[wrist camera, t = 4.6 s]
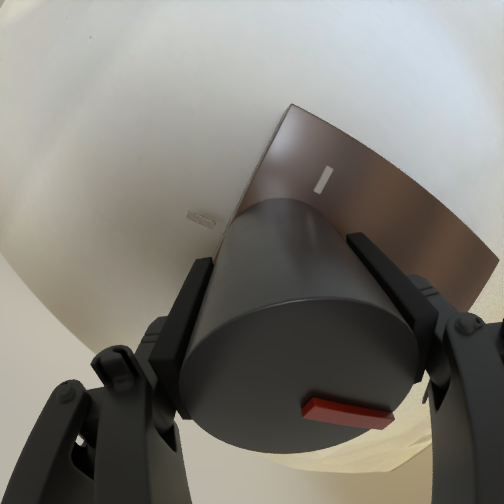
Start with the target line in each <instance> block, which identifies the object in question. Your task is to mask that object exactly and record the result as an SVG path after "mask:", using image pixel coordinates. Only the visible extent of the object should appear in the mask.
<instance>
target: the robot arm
mask: <svg viewBox="0 0 504 504" xmlns="http://www.w3.org/2000/svg"><path fill="white" fill-rule="evenodd" d="M346 242H347V244H348V245H349V247H350V248H351V249H352V250H353V251H354V253H355V254H356V255H357V256H358V258H359V259H360V260H361V262H362V263H363V264H364V265H365V267H366V268H367V269H368V271H369V272H370V273H371V274H372V276H373V277H374V278H375V280H376V281H377V282H378V284H379V285H380V286H381V288H382V289H383V290H384V292H385V293H386V294H387V296H388V297H389V299H390V300H391V301H392V303H393V304H394V305H395V307H396V308H397V310H398V311H399V312H400V314H401V315H402V317H403V318H404V320H405V321H406V322H407V324H408V325H409V327H410V328H411V330H412V331H413V333H414V335H415V338H416V340H417V343H418V348H419V368H418V373H417V376H416V379H415V381H414V384H416V383H418V382H421V381H422V378H423V374H424V371H425V369H426V371H427V373H428V375H429V376H430V380H429V383H428V386H427V388H426V391H425V394H424V396H423V401H422V404H424V403H426V400H427V398H428V397H429V406H430V416H431V429H432V447H433V448H432V449H433V484H432V503H431V504H504V319H503V322H498V323H489V324H485V323H484V321H483V320H482V319H481V318H480V317H478V316H477V315H475V314H472V313H469V312H458V311H457V310H456V309H455V308H454V307H453V306H452V305H451V304H450V303H449V302H448V301H447V300H446V299H445V297H444V296H443V295H442V294H441V293H440V294H439V291H438V290H437V289H436V288H435V287H434V288H433V285H432V284H431V283H430V282H429V281H428V280H427V279H425V278H423V277H421V276H419V275H417V274H411V275H407V276H406V275H405V274H404V273H403V272H402V271H401V270H400V269H399V268H398V267H397V266H396V265H395V264H394V263H393V262H392V261H391V260H390V259H389V258H388V257H387V256H386V255H385V254H384V253H383V252H382V251H381V250H380V249H379V248H378V247H377V246H376V245H375V244H374V243H373V242H372V241H371V240H370V239H369V238H368V237H367V236H366V235H365V234H363V233H362V232H357V233H351V234H346ZM213 269H214V264H213V260H212V257H208V258H202V259H196V260H195V262H194V264H193V266H192V268H191V270H190V272H189V274H188V276H187V278H186V280H185V282H184V284H183V286H182V288H181V290H180V292H179V294H178V296H177V298H176V300H175V302H174V304H173V306H172V309H171V311H170V313H169V315H168V316H163V317H158V318H157V319H156V320H154V321H153V322H152V323H151V324H150V325H149V327H148V329H147V331H146V333H145V336H143V338H142V340H141V343H140V344H139V346H138V348H137V350H136V352H135V354H133V352H132V350H131V349H130V348H129V347H128V346H124V345H115V346H111V347H109V348H106V349H104V350H103V351H101V352H99V353H98V354H97V355H96V356H95V357H94V358H93V360H92V362H91V366H92V368H93V369H94V371H95V372H96V374H97V375H98V377H99V378H100V380H101V381H102V383H103V384H104V387H100V388H95V389H90V390H86V389H85V387H84V386H83V385H82V383H80V381H78V380H74V379H73V380H67V381H65V382H62V383H61V384H60V385H58V386H57V387H56V388H55V389H54V391H53V392H52V394H51V396H50V397H49V399H48V401H47V403H46V405H45V407H44V408H43V410H42V412H41V414H40V416H39V418H38V420H37V422H36V424H35V425H34V427H33V429H32V431H31V433H30V435H29V437H28V439H27V442H26V444H25V446H24V448H23V450H22V452H21V455H20V457H19V459H18V461H17V463H16V466H15V468H14V471H13V473H12V475H11V478H10V480H9V483H8V485H7V488H6V491H5V494H4V496H3V499H2V502H1V504H192V501H191V497H190V492H189V487H188V482H187V477H186V471H185V466H184V461H183V455H182V448H181V442H180V435H179V429H178V426H177V424H176V423H175V421H174V417H175V413H176V410H177V411H178V413H179V414H180V416H181V417H182V419H183V420H184V419H186V420H193V419H192V418H191V417H190V415H189V414H188V413H187V411H186V409H185V407H184V405H183V403H182V400H181V397H180V393H179V383H178V382H179V375H180V370H181V367H182V364H183V360H184V357H185V354H186V351H187V348H188V344H189V341H190V338H191V335H192V332H193V329H194V326H195V323H196V319H197V316H198V313H199V310H200V307H201V304H202V301H203V298H204V295H205V292H206V289H207V286H208V283H209V280H210V277H211V274H212V272H213ZM78 435H79V436H80V437H81V438H82V439H83V440H84V442H83V444H82V445H81V446H79V445H78V444H77V443H76V442H75V441H76V438H77V436H78Z"/></svg>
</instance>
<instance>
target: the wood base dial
mask: <svg viewBox="0 0 504 504" xmlns="http://www.w3.org/2000/svg"><path fill="white" fill-rule="evenodd" d="M278 198H282V199H293V200H297V201H301V202H304V203H306V204H308V205H310V206H312V207H313V208H315V209H317V210H318V211H319V212H320V213H321V214H323V216H324V217H325V218H326V219H327V220H328V221H329V222H330V224H331V225H332V226H333V227H334V228H335V229H336V231H337V232H338V233H339V234H340V236H341V237H342V238H343V239H344V240H345V242H346V234H351V233H357V232H362V233H363V234H365V235H366V236H367V237H368V238H369V239H370V240H371V241H372V242H373V243H374V244H375V245H376V246H377V247H378V248H379V249H380V250H381V251H382V252H383V253H384V254H385V255H386V256H387V257H388V258H389V259H390V260H391V261H392V262H393V263H394V264H395V265H396V266H397V267H398V268H399V269H400V270H401V271H402V272H403V273H404V274H405V275H406V276H407V275H411V274H417V275H419V276H421V277H423V278H425V279H427V280H428V281H429V282H430V283H431V284H432V285H433V288H434V287H435V288H436V289H437V290H438V291H439V294H440V293H441V294H442V295H443V296H444V297H445V299H446V300H447V301H448V302H449V303H450V304H451V305H452V306H453V307H454V308H455V309H456V310H457V311H458V312H468V311H469V309H470V308H471V306H472V305H473V303H474V302H475V300H476V299H477V297H478V296H479V294H480V293H481V291H482V289H483V288H484V286H485V285H486V283H487V281H488V280H489V278H490V276H491V275H492V273H493V271H494V269H495V268H496V266H497V264H498V262H499V259H498V257H497V256H496V255H495V254H494V253H493V252H492V251H491V250H490V249H489V248H488V247H487V246H486V245H485V243H484V242H483V241H482V240H481V239H480V238H479V237H478V236H477V235H476V234H475V233H474V232H473V231H472V230H471V229H470V228H469V227H468V226H467V225H465V224H464V223H463V222H462V221H461V220H460V219H459V218H458V217H457V216H456V215H455V214H454V213H453V212H451V211H450V210H449V209H448V208H447V207H446V206H445V205H444V204H442V203H441V202H440V201H439V200H438V199H437V198H435V197H434V196H433V195H432V194H431V193H429V192H428V191H427V190H426V189H424V188H423V187H422V186H421V185H419V184H418V183H417V182H416V181H414V180H413V179H412V178H411V177H409V176H408V175H407V174H405V173H404V172H403V171H401V170H400V169H399V168H397V167H396V166H394V165H393V164H392V163H390V162H389V161H387V160H386V159H385V158H383V157H382V156H380V155H379V154H377V153H376V152H374V151H373V150H371V149H370V148H368V147H367V146H365V145H364V144H362V143H361V142H359V141H358V140H356V139H354V138H353V137H351V136H350V135H348V134H346V133H345V132H343V131H341V130H340V129H338V128H336V127H335V126H333V125H331V124H329V123H328V122H326V121H324V120H322V119H321V118H319V117H317V116H315V115H313V114H311V113H310V112H308V111H306V110H304V109H302V108H300V107H298V106H296V105H294V104H291V105H290V106H289V107H288V108H287V109H286V111H285V112H284V114H283V116H282V118H281V120H280V122H279V124H278V126H277V127H276V129H275V131H274V133H273V135H272V137H271V139H270V141H269V143H268V145H267V147H266V149H265V151H264V153H263V155H262V157H261V159H260V161H259V163H258V165H257V167H256V169H255V171H254V173H253V175H252V177H251V179H250V181H249V183H248V185H247V187H246V189H245V191H244V193H243V195H242V197H241V199H240V201H239V203H238V205H237V207H236V209H235V211H234V213H233V216H232V218H231V220H230V222H229V224H228V226H227V228H226V230H225V232H224V234H223V237H222V239H221V241H220V243H219V245H218V247H217V249H216V252H215V254H214V256H213V258H212V260H213V264H214V266H215V263H216V260H217V257H218V254H219V251H220V248H221V246H222V243H223V240H224V237H225V235H226V232H227V230H228V229H229V227H230V225H231V224H232V222H233V221H234V220H235V219H236V218H237V217H238V216H239V215H240V214H241V213H242V212H243V211H245V210H246V209H247V208H249V207H251V206H253V205H254V204H257V203H259V202H262V201H266V200H270V199H278ZM187 218H188V219H191V220H193V221H195V222H197V223H199V224H201V225H204V226H206V227H208V228H210V229H213V226H214V224H215V222H213V221H211V220H209V219H207V218H205V217H203V216H200V215H198V214H196V213H194V212H192V211H189V213H188V215H187ZM346 243H347V242H346Z"/></svg>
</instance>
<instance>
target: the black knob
mask: <svg viewBox="0 0 504 504" xmlns="http://www.w3.org/2000/svg"><path fill="white" fill-rule="evenodd" d="M418 368H419V348H418V343H417V340H416V338H415V335H414V333H413V331H412V330H411V328H410V327H409V325H408V324H407V322H406V321H405V320H404V318H403V317H402V315H401V314H400V312H399V311H398V310H397V308H396V307H395V305H394V304H393V303H392V301H391V300H390V299H389V297H388V296H387V294H386V293H385V292H384V290H383V289H382V288H381V286H380V285H379V284H378V282H377V281H376V280H375V278H374V277H373V276H372V274H371V273H370V272H369V271H368V269H367V268H366V267H365V265H364V264H363V263H362V262H361V260H360V259H359V258H358V256H357V255H356V254H355V253H354V251H353V250H352V249H351V248H350V247H349V245H348V244H347V243H346V242H345V240H344V239H343V238H342V237H341V236H340V234H339V233H338V232H337V231H336V229H335V228H334V227H333V226H332V225H331V224H330V222H329V221H328V220H327V219H326V218H325V217H324V216H323V214H321V213H320V212H319V211H318V210H317V209H315V208H313V207H312V206H310V205H308V204H306V203H304V202H301V201H297V200H293V199H282V198H278V199H270V200H266V201H262V202H259V203H257V204H254V205H253V206H251V207H249V208H247V209H246V210H245V211H243V212H242V213H241V214H240V215H239V216H238V217H237V218H236V219H235V220H234V221H233V222H232V224H231V225H230V227H229V229H228V230H227V232H226V235H225V237H224V240H223V243H222V246H221V248H220V251H219V254H218V257H217V260H216V263H215V266H214V269H213V272H212V274H211V277H210V280H209V283H208V286H207V289H206V292H205V295H204V298H203V301H202V304H201V307H200V310H199V313H198V316H197V319H196V323H195V326H194V329H193V332H192V335H191V338H190V341H189V344H188V348H187V351H186V354H185V357H184V360H183V364H182V367H181V370H180V375H179V382H178V383H179V393H180V397H181V400H182V403H183V405H184V407H185V409H186V411H187V413H188V414H189V415H190V417H191V418H192V419H193V420H194V421H195V422H196V423H197V424H198V425H199V426H200V427H201V428H202V429H203V430H205V431H206V432H208V433H209V434H211V435H212V436H214V437H215V438H217V439H219V440H221V441H224V442H226V443H228V444H231V445H233V446H236V447H239V448H243V449H247V450H251V451H256V452H262V453H273V454H292V453H304V452H311V451H316V450H321V449H325V448H329V447H332V446H336V445H339V444H341V443H344V442H347V441H349V440H351V439H354V438H356V437H358V436H360V435H362V434H363V433H365V432H367V431H369V430H370V429H379V430H383V429H384V428H385V427H387V426H388V425H389V424H390V423H392V422H393V421H394V420H395V418H394V415H393V413H392V412H393V411H394V410H395V409H396V408H397V407H398V406H399V405H400V404H401V403H402V401H403V400H404V399H405V397H406V396H407V394H408V393H409V391H410V389H411V388H412V386H413V384H414V381H415V379H416V376H417V373H418Z"/></svg>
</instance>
